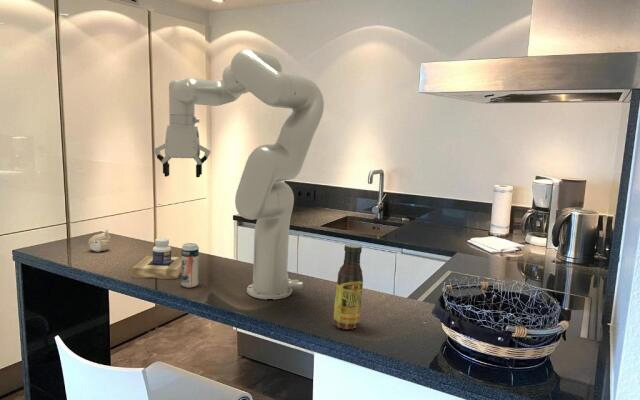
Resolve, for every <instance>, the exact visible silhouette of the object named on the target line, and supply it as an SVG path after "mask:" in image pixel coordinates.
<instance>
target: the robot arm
mask: <svg viewBox="0 0 640 400" xmlns="http://www.w3.org/2000/svg"><path fill="white" fill-rule="evenodd" d="M247 93H250V94H252V95H253V96H254V97H255V98H257V100H259V101H260V102H262V103H264V104H265V105H268V106H270V107H274V108H279V109H291V110H292V112H291V114H290V115H289V116H288V117H287V119H286V120H285V121H284V123H283V125H282V126H281V128H280V132H279V135H278V137H277V140H276V142H275V143H274V144H263V145H262V144H261V145H259V146H257V147H256V148H255V149H253V151H251V153H250V154H249V155H248V158H247V159H246V162H245V164H244V168H243V171H242V174H241V177H240V180H239V183H238V186H237V188H236V189H237V190H236V192H235V197H234V202H235V209H236V211H237V213H238V215H240V216H241V217H242V218H243V219H246V220H252V221H253V220H256V223H255V227H254V234H253V235H254V237H253V238H254V239H253V242H254V243H253V269H252V283H251V284H249V285H248V286H247V287H246V293H247V294H248V295H249V296H250V297H253V298H256V299H258V300H259V299H260V300H267V299H273V300H280V299H285V298H288V297H289V296H291V294H292V293H293V289H301V290H303V284H304V282H303V281H299V279H291V278H289V274H288V263H289V262H288V261H289V239H290V226H291V225H290V224H291V217H292V213H293V208H294V203H295V196H294V192H293V189H292V188H291V186H290V185H289V184H288V183H286V181H290V180H294V179H295V178H296V177H298V176H299V174H300V172H301V171H302V168H303V165H304V164H305V160H306V157H307V154H308V152H309V150H310V147H311V144H312V141H313V138H314V135H315V133H316V131H317V129H318V128H319V124H320V122H321V121H322V118H323V114H324V109H325V106H324V105H325V102H324V97H323V94H322V91H321V89H320V88H319V87H318V85H317V84H316V83H315V82H314V81H312V80H311V79H309V78H306V77H304V76H300V75H297V74H296V75H295V74H290V73H285V72H283V67H282V65H281V63H280V61H279V59H278V58H276V57H275V56H274V55H272V54H269V53H267V52H261V51H258V50H254V49H242V50H240V51H238V52H237V53H235V55H234V56H233V57H232V59H231V63H230V65H226V67H225V68H224V69H223V72H222V79H220V80H209V79H205V78H204V79H203V78H196V77H189V78H185V79H173V80H171V81H170V82H169V84H168V107H169V108H168V116H169V118H168V119H169V121H168V122H169V125H166V132H165V137H164V138H165V140H164V144H161V145H159V146H158V147H155V148H154V149H153V152H154V154H155V156H156V159H158V160H159V162H160V163H161V164H162V174H164V177H166V178H167V177H169V176H170V163H169V161H170V160H171V159H193V160H194V161H195V162H196V165H195V177H196V178H200V177H201V176H202V174H203V164H204V163H205V162H206V161H207V160H208V159H209V157H210V155H211V150H210V149H208V148H207V147H205V146H202V145H201V143H200V135H199V134H200V133H199V129H198V126H195V125H196V124H197V123H200V118H199V117H196V115H195V112H196V111H195V110H196V109H195V105H199V106H200V105H202V106H212V107H216V106H217V107H218V106H219V107H220V106H222V105H226V104H230V103H233V102H235V101H237V100H238V99H239V98H240V97H241V95H244V94H247ZM163 150H164V155H165V156H164V155H162V154H161V151H163ZM201 152H203V153H204V155H203V157H200V155H201Z"/></svg>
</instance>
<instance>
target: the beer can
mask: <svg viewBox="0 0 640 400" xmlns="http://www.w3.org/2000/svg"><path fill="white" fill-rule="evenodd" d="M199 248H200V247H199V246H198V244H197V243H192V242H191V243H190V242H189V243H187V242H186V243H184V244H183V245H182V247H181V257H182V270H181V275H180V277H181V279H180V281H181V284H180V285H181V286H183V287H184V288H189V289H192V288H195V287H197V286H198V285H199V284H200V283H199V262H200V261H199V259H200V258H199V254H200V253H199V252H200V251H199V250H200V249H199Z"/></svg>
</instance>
